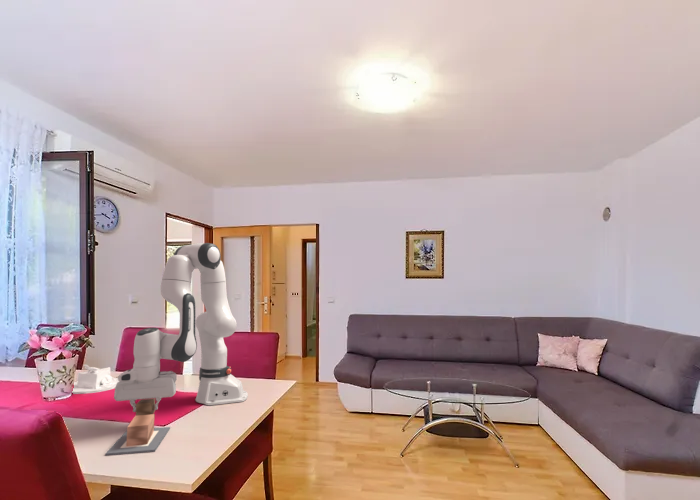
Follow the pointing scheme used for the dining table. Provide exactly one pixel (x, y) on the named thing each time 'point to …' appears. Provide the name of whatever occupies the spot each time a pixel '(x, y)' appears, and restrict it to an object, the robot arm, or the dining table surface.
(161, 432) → the build mat
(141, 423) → the terracotta block
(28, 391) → the dining table surface
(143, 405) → the walnut cube
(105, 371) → the dish
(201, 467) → the dining table surface
